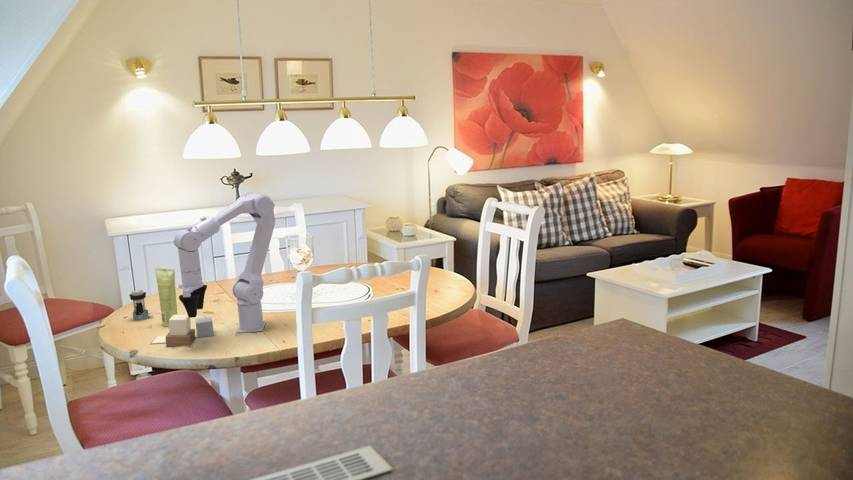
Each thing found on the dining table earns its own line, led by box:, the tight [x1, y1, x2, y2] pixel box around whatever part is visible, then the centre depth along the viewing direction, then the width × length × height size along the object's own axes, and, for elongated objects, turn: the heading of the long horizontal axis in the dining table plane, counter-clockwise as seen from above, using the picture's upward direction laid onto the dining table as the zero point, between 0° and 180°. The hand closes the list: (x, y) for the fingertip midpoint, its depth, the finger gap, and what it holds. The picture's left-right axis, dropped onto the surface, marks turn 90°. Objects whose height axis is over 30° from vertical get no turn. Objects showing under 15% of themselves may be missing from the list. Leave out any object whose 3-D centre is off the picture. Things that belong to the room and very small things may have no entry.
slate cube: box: [195, 316, 215, 339], centre depth 212 cm, size 5×5×5 cm
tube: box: [154, 267, 179, 328], centre depth 222 cm, size 6×5×20 cm
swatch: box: [149, 335, 167, 346], centre depth 209 cm, size 7×7×1 cm
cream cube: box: [168, 314, 192, 336], centre depth 205 cm, size 5×5×5 cm
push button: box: [128, 289, 154, 321], centre depth 230 cm, size 7×5×10 cm
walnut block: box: [165, 328, 196, 347], centre depth 206 cm, size 7×7×3 cm
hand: (196, 313), depth 203 cm, fingers open, 7 cm apart
